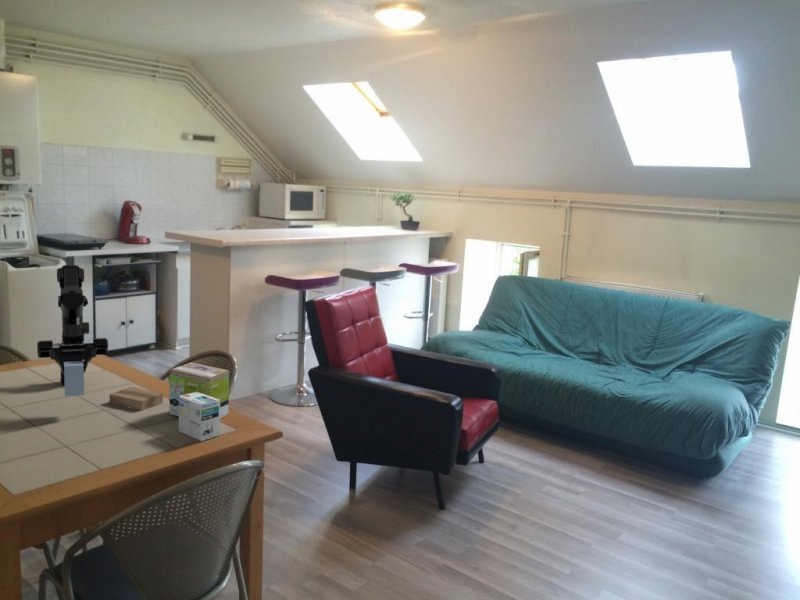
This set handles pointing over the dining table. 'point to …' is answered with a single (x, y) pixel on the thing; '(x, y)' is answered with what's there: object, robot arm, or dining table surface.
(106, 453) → the dining table surface
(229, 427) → the dining table surface
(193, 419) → the light bulb box
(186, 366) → the tea box
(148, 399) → the stack block
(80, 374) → the pillar block
